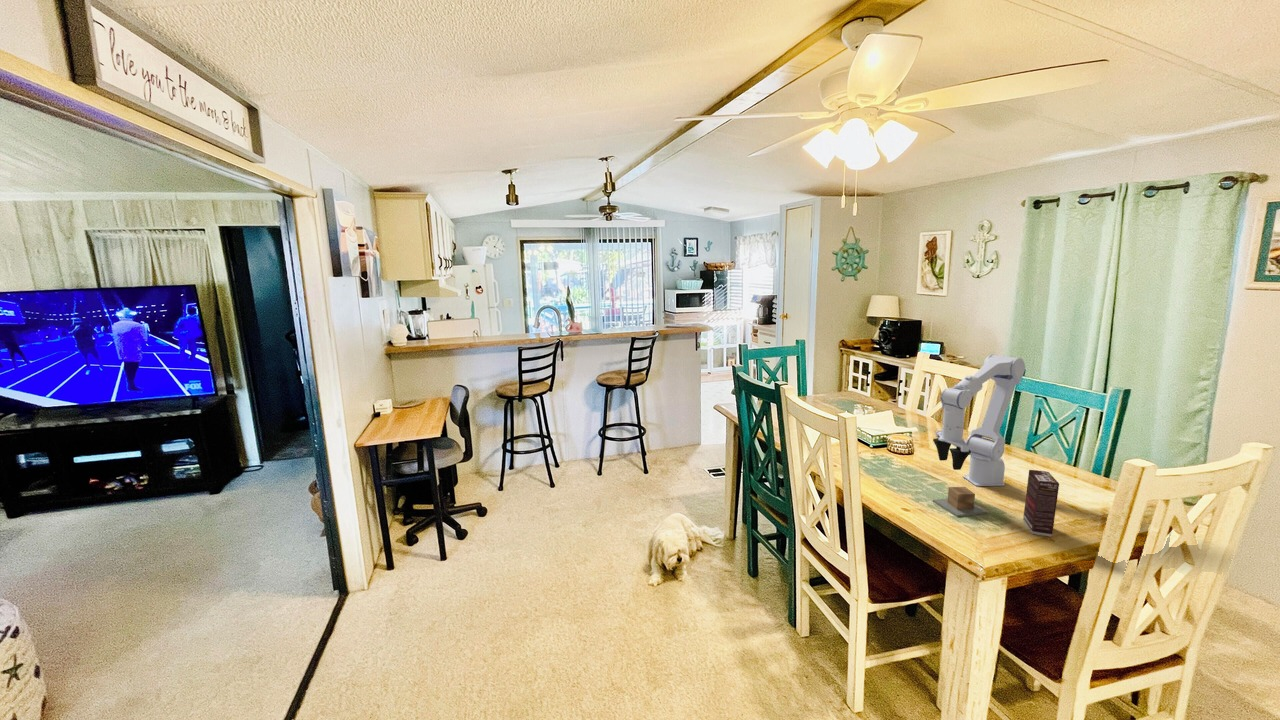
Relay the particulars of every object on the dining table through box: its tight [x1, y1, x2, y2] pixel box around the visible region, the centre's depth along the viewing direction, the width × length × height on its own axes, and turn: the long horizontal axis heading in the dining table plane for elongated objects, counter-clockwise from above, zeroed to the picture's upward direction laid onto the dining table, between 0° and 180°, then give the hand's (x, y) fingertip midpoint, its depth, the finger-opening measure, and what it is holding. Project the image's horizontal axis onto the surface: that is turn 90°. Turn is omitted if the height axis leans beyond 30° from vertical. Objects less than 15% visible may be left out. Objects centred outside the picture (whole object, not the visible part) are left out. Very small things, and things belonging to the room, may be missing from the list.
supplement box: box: [1022, 469, 1060, 538], centre depth 138 cm, size 9×5×16 cm, turn 157°
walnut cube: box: [947, 486, 976, 510], centre depth 153 cm, size 5×5×5 cm
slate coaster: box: [932, 497, 988, 518], centre depth 153 cm, size 10×10×1 cm
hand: (949, 464), depth 162 cm, fingers open, 7 cm apart
